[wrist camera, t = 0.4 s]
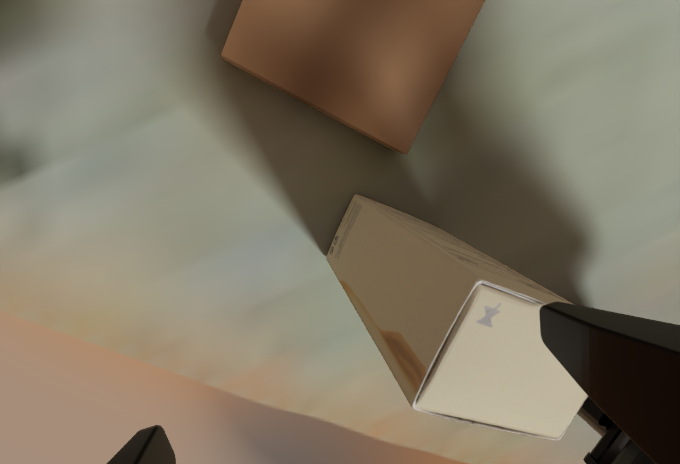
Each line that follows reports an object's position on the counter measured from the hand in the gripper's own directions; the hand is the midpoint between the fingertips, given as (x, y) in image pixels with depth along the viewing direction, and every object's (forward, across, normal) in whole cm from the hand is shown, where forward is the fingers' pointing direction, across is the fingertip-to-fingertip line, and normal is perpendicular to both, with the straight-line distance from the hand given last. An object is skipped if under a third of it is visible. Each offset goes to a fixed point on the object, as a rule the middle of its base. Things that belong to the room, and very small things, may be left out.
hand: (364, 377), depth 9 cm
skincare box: (+14, -4, +2) cm, 14 cm away
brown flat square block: (+14, -5, -10) cm, 18 cm away
